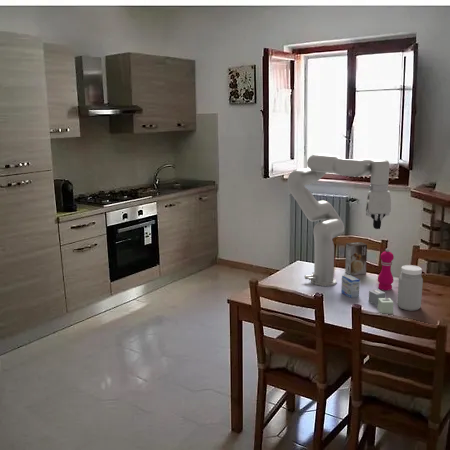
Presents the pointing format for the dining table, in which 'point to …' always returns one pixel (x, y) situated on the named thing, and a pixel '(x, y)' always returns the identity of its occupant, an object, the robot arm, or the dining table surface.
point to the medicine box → (350, 286)
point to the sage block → (385, 305)
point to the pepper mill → (386, 271)
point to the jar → (410, 288)
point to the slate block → (376, 296)
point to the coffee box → (356, 258)
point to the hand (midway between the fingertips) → (376, 228)
